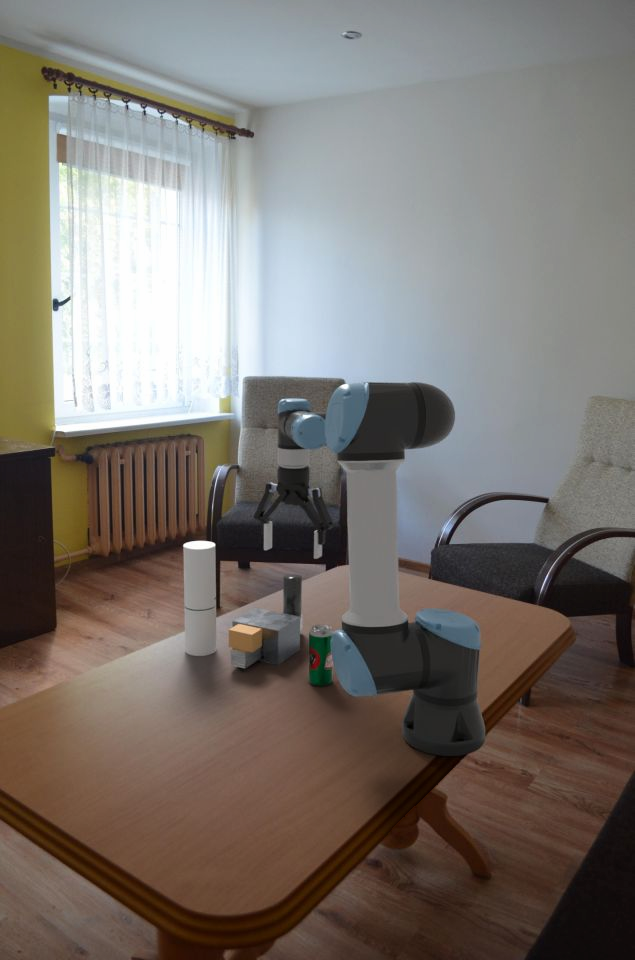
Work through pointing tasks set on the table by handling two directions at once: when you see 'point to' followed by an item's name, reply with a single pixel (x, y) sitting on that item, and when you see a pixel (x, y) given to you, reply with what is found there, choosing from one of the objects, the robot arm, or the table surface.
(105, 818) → the table surface
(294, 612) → the shaft
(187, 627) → the cylindrical container
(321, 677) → the soda can
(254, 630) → the block
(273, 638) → the block
